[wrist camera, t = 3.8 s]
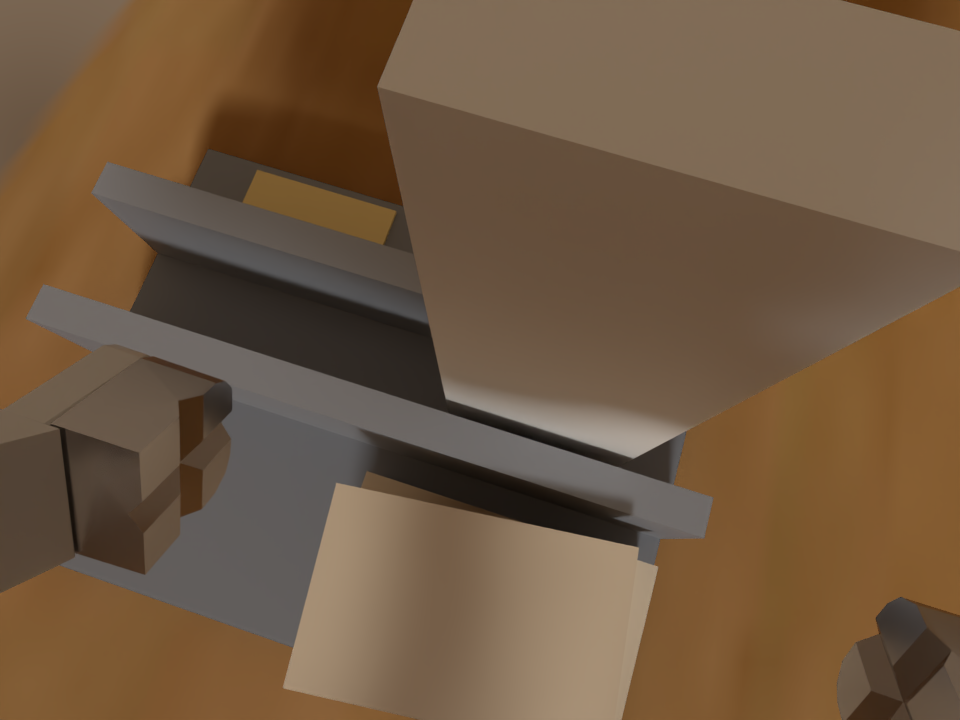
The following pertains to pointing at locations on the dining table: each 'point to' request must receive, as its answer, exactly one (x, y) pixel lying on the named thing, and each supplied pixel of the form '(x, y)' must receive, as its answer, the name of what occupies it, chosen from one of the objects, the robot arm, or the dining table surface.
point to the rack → (322, 389)
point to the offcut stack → (466, 612)
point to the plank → (665, 200)
